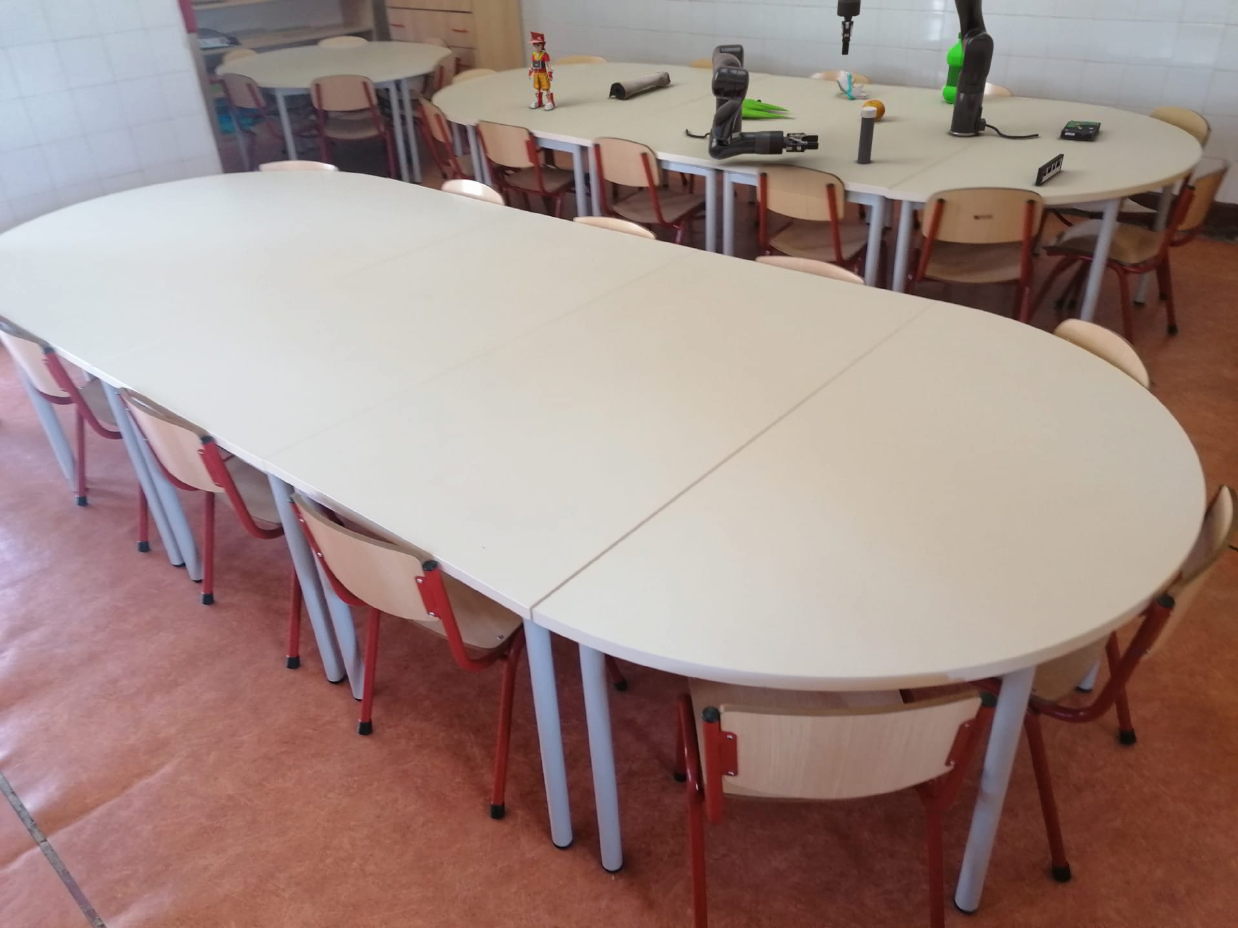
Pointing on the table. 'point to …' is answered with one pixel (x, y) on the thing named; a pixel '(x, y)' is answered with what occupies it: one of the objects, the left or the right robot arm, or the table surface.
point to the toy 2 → (760, 109)
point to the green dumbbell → (953, 71)
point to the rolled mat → (638, 84)
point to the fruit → (877, 105)
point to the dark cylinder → (866, 140)
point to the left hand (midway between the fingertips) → (818, 142)
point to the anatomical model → (850, 86)
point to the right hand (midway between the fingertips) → (845, 52)
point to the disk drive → (1080, 130)
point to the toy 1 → (541, 71)
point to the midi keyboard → (1049, 169)
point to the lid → (868, 112)
